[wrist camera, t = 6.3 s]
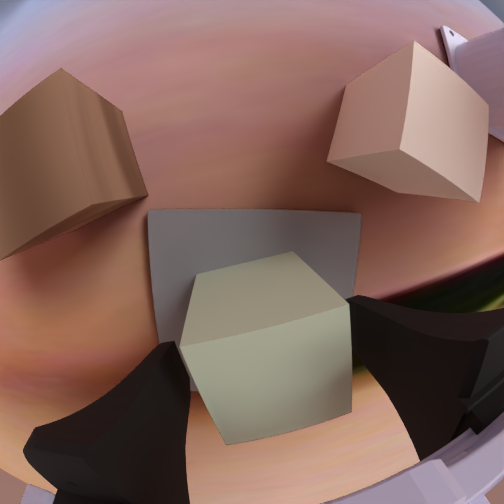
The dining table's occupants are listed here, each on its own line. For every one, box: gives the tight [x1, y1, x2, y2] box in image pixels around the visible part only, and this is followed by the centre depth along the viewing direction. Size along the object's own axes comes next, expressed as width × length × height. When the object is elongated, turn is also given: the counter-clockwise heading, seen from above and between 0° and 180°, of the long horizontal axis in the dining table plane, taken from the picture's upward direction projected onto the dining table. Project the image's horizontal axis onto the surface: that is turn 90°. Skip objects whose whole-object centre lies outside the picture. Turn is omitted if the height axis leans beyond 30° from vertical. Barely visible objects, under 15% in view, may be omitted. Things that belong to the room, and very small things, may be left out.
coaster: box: [148, 208, 362, 391], centre depth 13 cm, size 10×10×1 cm
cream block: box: [326, 41, 489, 203], centre depth 9 cm, size 4×4×6 cm
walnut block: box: [0, 68, 148, 260], centre depth 8 cm, size 4×4×6 cm
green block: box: [180, 251, 352, 445], centre depth 10 cm, size 4×4×6 cm
